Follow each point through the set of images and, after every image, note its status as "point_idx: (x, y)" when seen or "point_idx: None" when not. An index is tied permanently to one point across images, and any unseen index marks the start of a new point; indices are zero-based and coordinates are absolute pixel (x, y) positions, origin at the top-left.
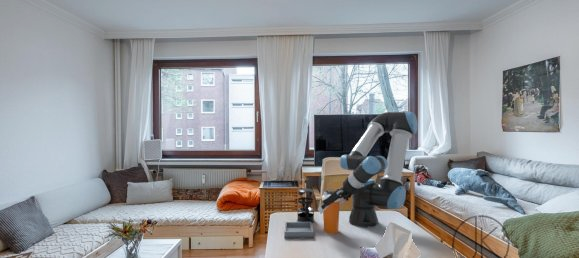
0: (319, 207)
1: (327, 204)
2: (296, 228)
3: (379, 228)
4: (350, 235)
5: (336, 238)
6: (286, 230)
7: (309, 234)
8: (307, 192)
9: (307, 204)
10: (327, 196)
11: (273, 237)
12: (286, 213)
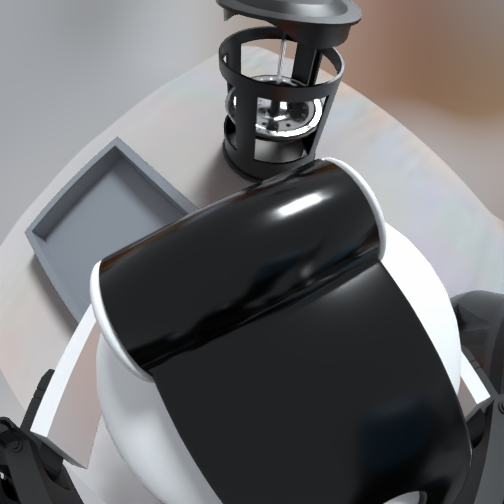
0: (77, 331)
1: (14, 485)
2: (130, 201)
3: None
4: None
5: None
6: (86, 191)
7: None
8: (250, 14)
9: (247, 97)
10: (111, 422)
11: (31, 207)
12: (271, 58)
